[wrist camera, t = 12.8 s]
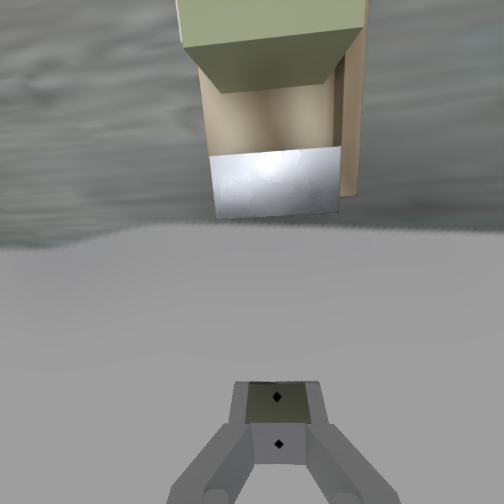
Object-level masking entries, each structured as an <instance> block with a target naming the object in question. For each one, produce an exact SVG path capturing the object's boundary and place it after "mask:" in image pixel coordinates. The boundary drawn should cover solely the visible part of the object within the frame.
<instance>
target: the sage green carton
mask: <svg viewBox="0 0 504 504" xmlns="http://www.w3.org/2000/svg"><path fill="white" fill-rule="evenodd" d="M175 1H176V9H177V16H178V24H179V31H180V39H181V43H182V44H183V48H184V49H185V50H186V52H187V53H188V54H189V55H190V57H191V58H192V59H193V60H194V61H195V63H196V64H197V65H198V66H199V68H200V69H201V70H202V71H203V72H204V74H205V75H206V76H207V77H208V79H209V80H210V81H211V82H212V83H213V85H214V86H215V87H216V88H217V90H218V91H219V92H220V93H221V94H226V93H237V92H247V91H257V90H267V89H278V88H288V87H298V86H308V85H319V84H324V82H325V81H326V80H327V78H328V77H329V75H330V74H331V73H332V71H333V70H334V68H335V67H336V65H337V64H338V63H339V61H340V60H341V58H342V57H343V56H344V54H345V53H346V51H347V50H348V49H349V47H350V46H351V44H352V43H353V41H354V40H355V39H356V37H357V36H358V34H359V33H360V32H361V30H362V29H363V27H364V16H365V0H175Z"/></svg>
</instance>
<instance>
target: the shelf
mask: <svg viewBox="0 0 504 504" xmlns="http://www.w3.org/2000/svg"><path fill="white" fill-rule="evenodd" d="M368 6H369V0H365V16H364V27H363V29H362V30H361V32H360V33H359V34H358V36H357V37H356V39H355V40H354V41H353V43H352V44H351V46H350V47H349V49H348V50H347V51H346V53H345V54H344V56H343V57H342V58H341V60H340V61H339V63H338V64H337V65H336V67H335V68H334V70H333V71H332V73H331V74H330V75H329V77H328V78H327V80H326V81H325V82H324V84H319V85H308V86H298V87H288V88H278V89H267V90H257V91H247V92H237V93H226V94H221V93H220V92H219V91H218V90H217V88H216V87H215V86H214V85H213V83H212V82H211V81H210V80H209V79H208V77H207V76H206V75H205V74H204V72H203V71H202V70H201V69H200V68H199V66H198V70H199V79H200V87H201V96H202V104H203V113H204V121H205V130H206V138H207V147H208V155H209V156H221V155H234V154H247V153H260V152H273V151H286V150H300V149H313V148H326V147H339V146H341V162H340V188H339V197H343V196H357V184H358V168H359V152H360V136H361V119H362V103H363V87H364V71H365V55H366V39H367V23H368ZM209 164H210V158H209ZM210 172H211V167H210ZM211 181H212V175H211ZM212 189H213V184H212ZM213 198H214V192H213Z"/></svg>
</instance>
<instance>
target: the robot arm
mask: <svg viewBox="0 0 504 504" xmlns="http://www.w3.org/2000/svg"><path fill="white" fill-rule="evenodd" d="M254 464H295V465H306V466H307V468H308V470H309V472H310V473H311V474H312V476H313V478H314V480H315V481H316V483H317V485H318V486H319V488H320V489H321V491H322V493H323V494H324V496H325V498H326V499H327V501H328V502H329V504H401V502H400V500H399V497H398V494H397V492H396V491H395V490H394V489H393V488H392V487H391V486H390V485H389V484H388V483H387V481H386V480H385V479H384V478H383V477H382V476H381V475H380V474H379V473H378V472H377V471H376V470H375V469H374V467H373V466H372V465H371V464H370V463H369V462H368V461H367V460H366V459H365V458H364V456H362V455H361V453H360V452H359V451H358V450H357V449H356V448H355V447H354V446H353V445H352V443H350V441H349V440H348V439H347V438H346V437H345V436H344V435H343V434H342V433H341V432H340V431H339V429H338V428H337V427H336V426H335V425H334V424H329V422H328V418H327V413H326V409H325V404H324V400H323V396H322V391H321V387H320V383H319V382H318V381H304V382H303V381H291V382H290V381H287V382H252V381H251V382H237V381H236V382H235V384H234V390H233V396H232V403H231V409H230V416H229V423H228V424H223V425H222V427H221V428H220V429H219V430H218V431H217V433H216V434H215V435H214V436H213V438H212V439H211V440H210V441H209V442H208V443H207V445H206V446H205V447H204V448H203V449H202V451H201V452H200V453H199V454H198V455H197V457H196V458H195V459H194V460H193V461H192V463H191V464H190V465H189V466H188V467H187V469H186V470H185V471H184V472H183V474H182V475H181V476H180V477H179V478H178V479H177V481H176V482H175V483H174V484H173V485H172V487H171V490H170V493H169V497H168V500H167V504H234V503H235V501H236V499H237V497H238V495H239V493H240V491H241V489H242V488H243V486H244V484H245V482H246V480H247V479H248V477H249V475H250V473H251V471H252V469H253V467H254Z"/></svg>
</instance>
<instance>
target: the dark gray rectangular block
mask: <svg viewBox="0 0 504 504" xmlns="http://www.w3.org/2000/svg"><path fill="white" fill-rule="evenodd" d="M209 158H210V167H211V175H212V184H213V192H214V201H215V209H216V218H217V219H234V218H252V217H271V216H289V215H308V214H327V213H339V188H340V162H341V146H339V147H326V148H313V149H300V150H286V151H273V152H260V153H247V154H234V155H221V156H209Z"/></svg>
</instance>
